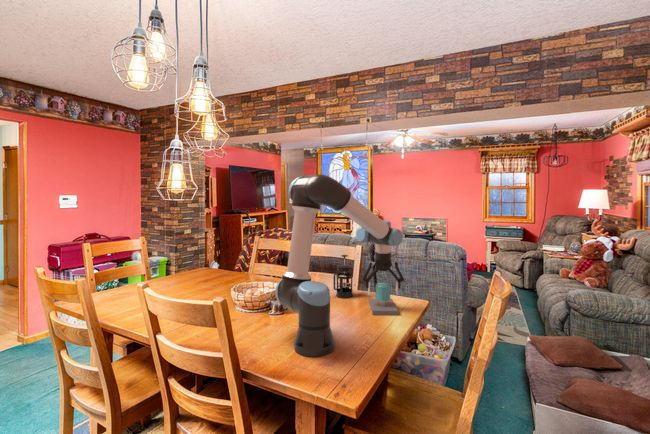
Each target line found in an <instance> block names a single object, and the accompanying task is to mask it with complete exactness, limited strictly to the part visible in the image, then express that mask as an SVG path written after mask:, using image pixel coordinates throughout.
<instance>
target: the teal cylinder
mask: <svg viewBox="0 0 650 434" xmlns="http://www.w3.org/2000/svg"><path fill="white" fill-rule="evenodd" d="M375 299H377V300H380V301H388V300H390V299H391V284H390V283H388V282H377V283H375Z"/></svg>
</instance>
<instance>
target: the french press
mask: <svg viewBox="0 0 650 434" xmlns="http://www.w3.org/2000/svg"><path fill="white" fill-rule="evenodd" d="M340 257H343V259H344V260H343V264H337V265H336V270H337V272H339V273H334V274H333V290H334V291H336V294H335V296H336V298H338V299H351V298H353V297H354V294H353V293H354V292H353V273H351V272H350V273H349V272H348V271H350V270H352V268H353V267H354V266H353V265H352V264H346V261H345V260H346V258H347V257H349V255H348V254H342V255H340Z"/></svg>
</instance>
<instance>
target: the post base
mask: <svg viewBox="0 0 650 434" xmlns="http://www.w3.org/2000/svg"><path fill="white" fill-rule="evenodd" d="M368 304H369V307H370V311H371V315H373V316H399V309H398V307H397V306H396V303H395V302H394V299H393V298H390V300H388V301H380V300H377V299H376V298H369V299H368Z"/></svg>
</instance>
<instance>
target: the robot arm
mask: <svg viewBox="0 0 650 434" xmlns="http://www.w3.org/2000/svg"><path fill="white" fill-rule="evenodd" d="M288 196H289V198H290V200H291V208H292V210H293V211H294V214H293V215H294V216H293V222H292V231H291V238H290V239H291V240H290V243H289V244H290V245H289V253H288V261H287V269H286V271H284V272H283V273H282V276H281V278H280V280H279V282H277V284H276V286H275V297H276V300H277V301H278V303H279V304H281V305H282V306H283V307H284V308H285V309H289V310H290V311H292V312H295V313H296V314H297V315H298V327H297V331H296V334H295V337H294V342H293V349H294V351H295V352H296V353H297V354H299V355H302V356H304V357H311V358H312V357H322V356H326V355H329V354H331V353H332V352H333V351H334V350H335V348H336V345H335V344H336V340H335V338H334V333H333V331H332V328H331V292H330V288H329V286H328V285H327V284H325V283H323V282H320V281H315V280H312V276H311V275H310V273H309V268H310V262H311V256H312V255H311V253H312V246H313V239H314V231H315V230H314V229H315V224H316V223H315V222H316V217H317V216H316V215H317V214H318V213H319V212H320V211H321V207H322V206H326V207H329V208H330V209H332V210H334V211H336V212H340V213H342V214H344V215H345V216H346V217H347V218H349V219H350V220H351V221H353V222H354V223H355V224H357V225H358V226H360V227H358V228H357V229H356V231H355V238H356V240H357V242H358V243H361V244H362V243H365V244H367V243H372V244H375V261H368V266H367V268H366V270H365V272H364V274H363V275H362V277H361V280H362V281H363V282H365V288H366V289H367V295H368V296H371V279H372V278H373V277H374V276H375V275H376V274H377V273H378V272H387V271H388V272H389V273H390V274H391V275H392V276H393V277H394V279H395V280H396V281H395V295H396V296H399V289H401V282H403V281H405V277H404V275H403V274H402V271H401V270H400V269H399V263H398V262H397V261H392V253H391V252H392V247H399V246H400V245H401V244H402V242H403V239H404V235H403V232H402V230H401V229H398V228H396V227H395V228H393V227H392V223H391V221H390V220H383V219H381V218H380V217H379V216H378V215H376V214H375V213H374V212H373V211H372V210H370V209H369V208H368V207H366V206H365V205H364V204H363V203H362V202H360V201H359V200H358V199H357V198H355V197H354V196H353V195H352V192H351V190H349V189H348V188H347V187H346V186H345V185H343V184H342V183H341V182H339V181H338V180H337V179H336V178H333V177H331V176H329V175H326V174H310V175H309V174H308V175H301V176H298V177H295V179H293V180H292V181H291V183H290V184H289V188H288ZM392 266H393V267H394V268H395V270H396V272H397V274H396V273H395V272H394V270H392V269H391V267H392ZM372 267H375V268H374V269H373V270H372ZM371 270H372V272H371ZM370 272H371V273H370ZM369 273H370V274H369ZM397 275H398V276H397Z"/></svg>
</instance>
